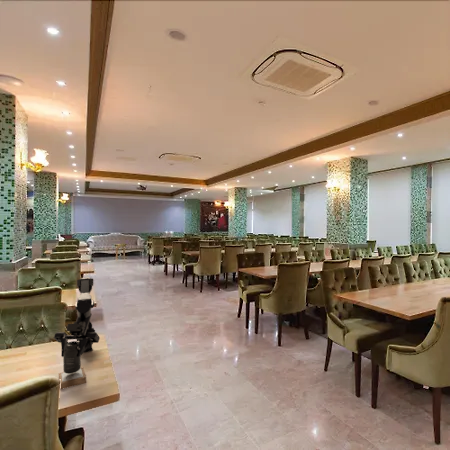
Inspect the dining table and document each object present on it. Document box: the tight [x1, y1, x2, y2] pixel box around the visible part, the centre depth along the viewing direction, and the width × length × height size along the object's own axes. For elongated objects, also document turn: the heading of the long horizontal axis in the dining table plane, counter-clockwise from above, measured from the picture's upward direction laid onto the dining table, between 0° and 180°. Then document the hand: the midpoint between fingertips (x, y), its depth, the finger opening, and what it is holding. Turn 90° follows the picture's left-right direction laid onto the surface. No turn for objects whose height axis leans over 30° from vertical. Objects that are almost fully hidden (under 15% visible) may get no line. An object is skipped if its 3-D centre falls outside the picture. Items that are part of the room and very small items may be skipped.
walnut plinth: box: [58, 367, 87, 390], centre depth 130 cm, size 10×10×3 cm
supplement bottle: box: [62, 340, 82, 374], centre depth 130 cm, size 7×7×12 cm
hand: (70, 356), depth 128 cm, fingers closed on supplement bottle, 7 cm apart
